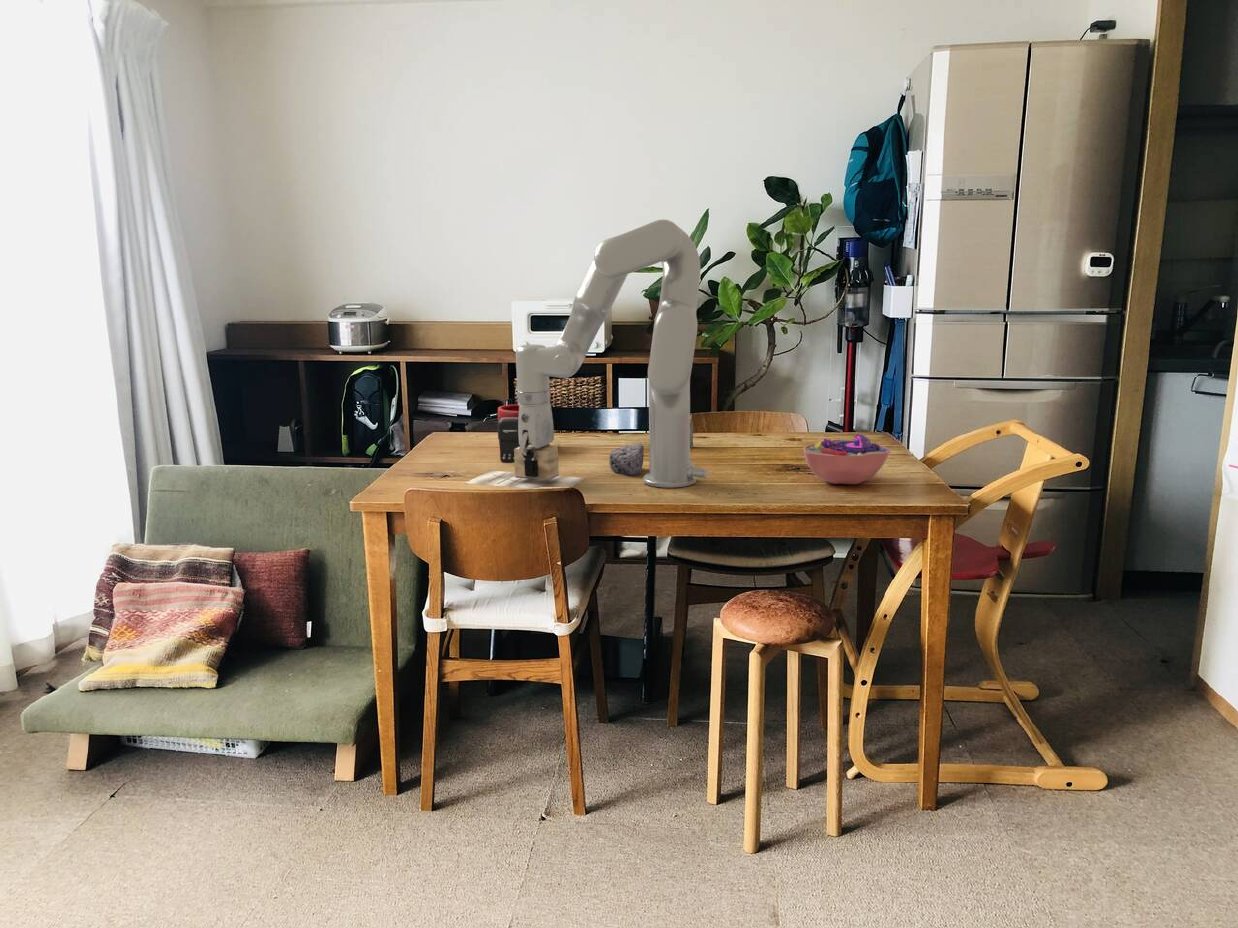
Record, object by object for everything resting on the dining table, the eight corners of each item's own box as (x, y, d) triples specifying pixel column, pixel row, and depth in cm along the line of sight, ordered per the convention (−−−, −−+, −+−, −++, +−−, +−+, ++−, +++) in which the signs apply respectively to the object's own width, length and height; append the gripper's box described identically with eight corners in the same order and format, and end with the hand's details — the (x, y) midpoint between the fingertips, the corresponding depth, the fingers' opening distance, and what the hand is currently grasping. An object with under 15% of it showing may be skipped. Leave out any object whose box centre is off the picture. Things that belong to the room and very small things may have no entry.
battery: (497, 463, 246) (495, 420, 243) (500, 459, 249) (498, 417, 247) (524, 463, 245) (522, 419, 243) (526, 459, 249) (525, 417, 246)
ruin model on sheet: (693, 447, 262) (693, 413, 260) (691, 450, 259) (691, 415, 257) (652, 446, 264) (652, 412, 262) (650, 448, 261) (650, 414, 259)
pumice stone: (605, 484, 232) (639, 477, 226) (596, 454, 231) (630, 446, 225) (625, 474, 240) (658, 467, 235) (616, 445, 239) (650, 437, 234)
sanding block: (558, 475, 226) (557, 446, 224) (549, 480, 221) (548, 451, 219) (525, 472, 229) (523, 444, 227) (515, 477, 224) (514, 449, 223)
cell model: (793, 475, 228) (794, 429, 225) (874, 472, 229) (876, 426, 227) (812, 493, 212) (813, 443, 209) (899, 490, 213) (901, 441, 210)
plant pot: (524, 456, 252) (522, 412, 250) (489, 451, 260) (487, 408, 257) (556, 448, 263) (555, 405, 260) (521, 442, 270) (520, 401, 268)
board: (586, 479, 228) (586, 478, 227) (563, 492, 216) (563, 491, 216) (491, 471, 237) (491, 470, 237) (464, 483, 225) (464, 482, 225)
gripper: (531, 404, 212) (535, 483, 216) (563, 393, 227) (566, 466, 231) (502, 403, 214) (506, 481, 218) (535, 392, 230) (538, 464, 234)
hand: (536, 472), depth 225 cm, fingers closed on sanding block, 5 cm apart
